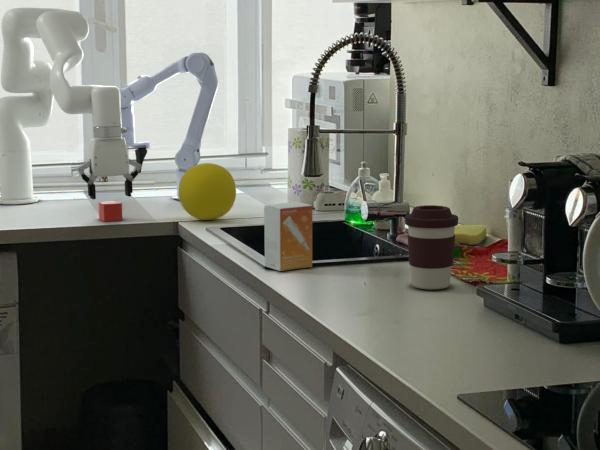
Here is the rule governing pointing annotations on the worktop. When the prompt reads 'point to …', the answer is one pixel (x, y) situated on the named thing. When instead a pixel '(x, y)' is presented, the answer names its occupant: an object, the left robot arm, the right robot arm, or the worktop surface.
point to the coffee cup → (431, 245)
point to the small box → (288, 236)
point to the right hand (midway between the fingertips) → (126, 173)
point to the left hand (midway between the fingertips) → (110, 197)
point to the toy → (207, 191)
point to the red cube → (110, 211)
